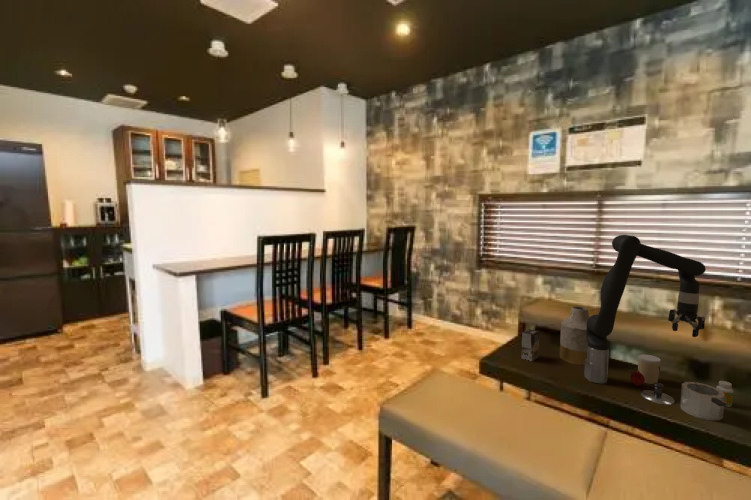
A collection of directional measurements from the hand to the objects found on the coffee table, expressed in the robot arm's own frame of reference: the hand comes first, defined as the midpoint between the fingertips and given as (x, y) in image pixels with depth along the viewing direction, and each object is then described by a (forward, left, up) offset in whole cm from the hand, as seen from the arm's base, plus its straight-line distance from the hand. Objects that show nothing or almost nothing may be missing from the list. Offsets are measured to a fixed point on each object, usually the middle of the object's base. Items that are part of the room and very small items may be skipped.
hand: (684, 333), depth 171 cm
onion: (-22, -3, -26) cm, 34 cm away
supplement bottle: (+5, -18, -26) cm, 32 cm away
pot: (-10, -25, -26) cm, 37 cm away
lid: (-20, -14, -26) cm, 36 cm away
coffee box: (-62, +29, -26) cm, 74 cm away
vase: (-35, +29, -26) cm, 53 cm away
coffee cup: (-13, +3, -26) cm, 29 cm away
